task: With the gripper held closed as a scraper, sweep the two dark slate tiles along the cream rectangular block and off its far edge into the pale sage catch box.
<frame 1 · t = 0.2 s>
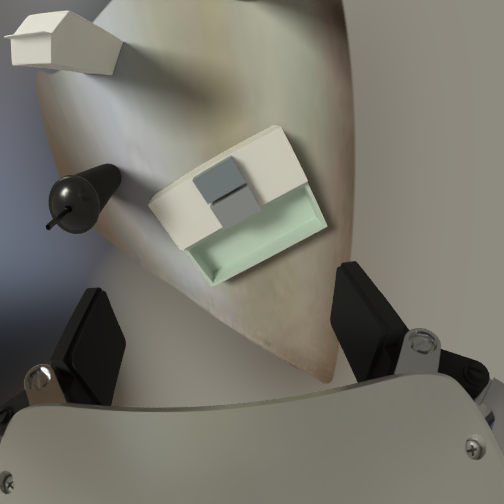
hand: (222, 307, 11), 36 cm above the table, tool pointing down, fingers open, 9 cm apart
catch box: (253, 227, 49), on the table
milk: (102, 57, 32), on the table
cream rectangular block: (226, 182, 45), on the table
drinking cup: (108, 177, 42), on the table
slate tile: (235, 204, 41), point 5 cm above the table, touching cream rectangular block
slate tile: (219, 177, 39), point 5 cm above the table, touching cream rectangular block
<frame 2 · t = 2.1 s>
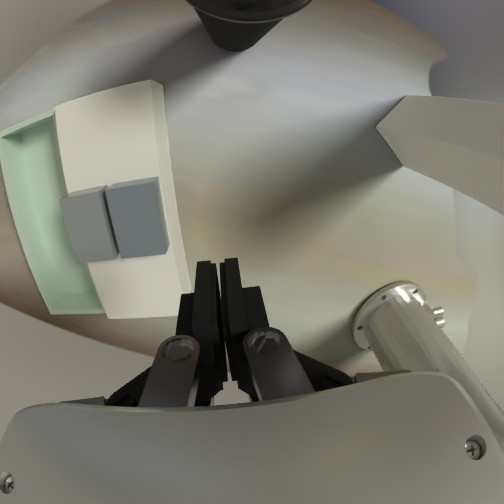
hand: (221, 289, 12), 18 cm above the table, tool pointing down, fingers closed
catch box: (61, 212, 26), on the table
milk: (404, 130, 26), on the table
cream rectangular block: (132, 200, 27), on the table
drinking cup: (235, 30, 21), on the table
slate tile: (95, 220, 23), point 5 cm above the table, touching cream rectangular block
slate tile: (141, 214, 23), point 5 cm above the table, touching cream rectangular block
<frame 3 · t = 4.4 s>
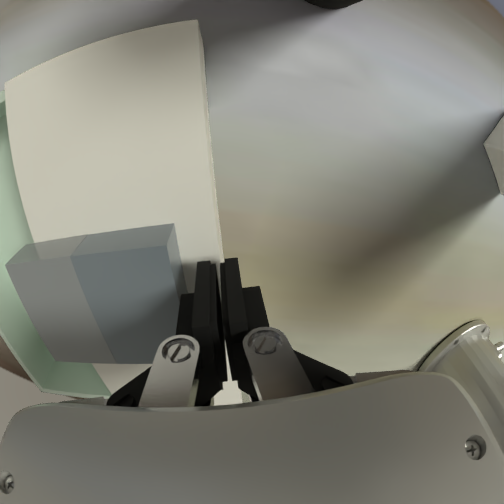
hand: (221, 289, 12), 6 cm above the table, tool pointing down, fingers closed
catch box: (37, 257, 16), on the table
cream rectangular block: (148, 242, 17), on the table
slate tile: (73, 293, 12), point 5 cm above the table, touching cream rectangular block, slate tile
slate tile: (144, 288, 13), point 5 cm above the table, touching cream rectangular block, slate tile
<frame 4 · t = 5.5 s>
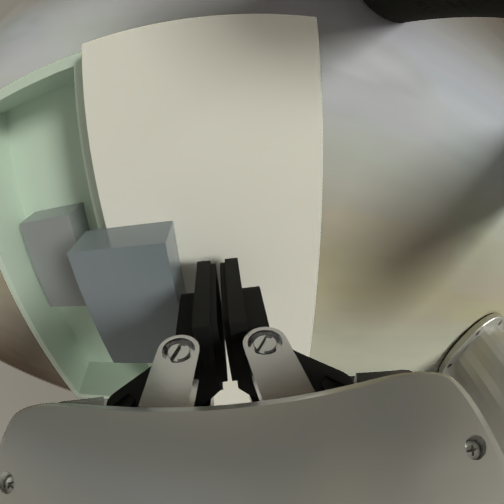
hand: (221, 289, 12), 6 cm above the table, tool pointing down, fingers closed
catch box: (82, 249, 16), on the table
cream rectangular block: (218, 233, 17), on the table
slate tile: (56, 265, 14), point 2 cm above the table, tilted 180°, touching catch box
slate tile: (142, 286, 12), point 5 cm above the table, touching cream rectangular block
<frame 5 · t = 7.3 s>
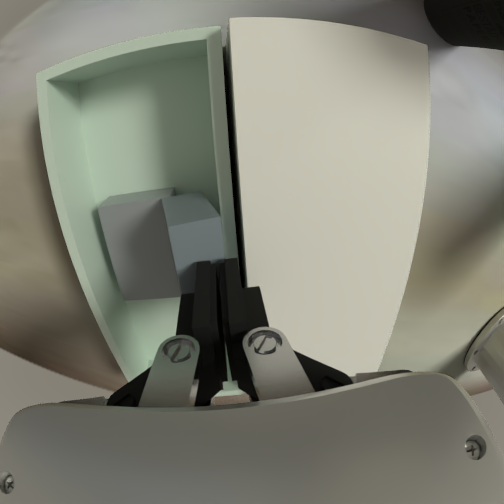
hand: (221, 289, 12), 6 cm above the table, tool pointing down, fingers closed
catch box: (163, 238, 17), on the table
cream rectangular block: (310, 223, 18), on the table
drinking cup: (445, 18, 11), on the table
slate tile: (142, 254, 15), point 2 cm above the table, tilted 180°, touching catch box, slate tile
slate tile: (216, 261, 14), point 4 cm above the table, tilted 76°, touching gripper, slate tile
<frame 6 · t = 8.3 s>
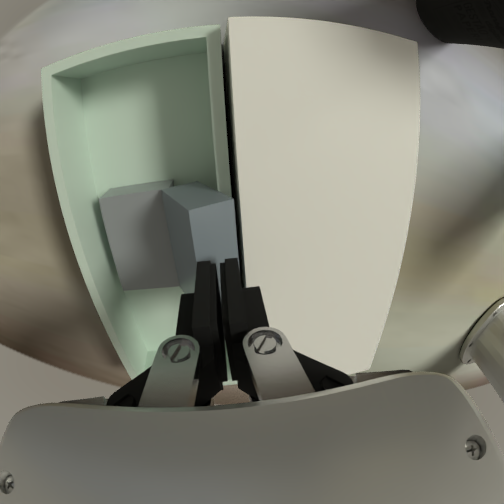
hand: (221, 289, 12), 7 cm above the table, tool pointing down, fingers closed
catch box: (162, 229, 18), on the table
cream rectangular block: (305, 214, 18), on the table
drinking cup: (437, 16, 12), on the table
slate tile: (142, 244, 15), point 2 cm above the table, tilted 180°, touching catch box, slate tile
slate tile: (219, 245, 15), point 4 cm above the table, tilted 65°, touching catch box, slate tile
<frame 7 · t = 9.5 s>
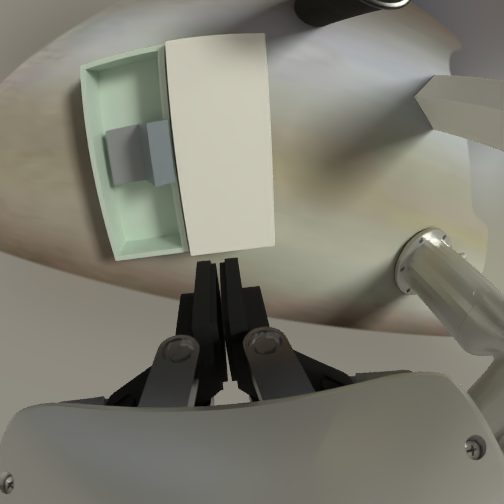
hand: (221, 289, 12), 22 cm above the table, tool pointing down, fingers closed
catch box: (139, 152, 29), on the table
milk: (433, 101, 30), on the table
cream rectangular block: (221, 140, 29), on the table
drinking cup: (313, 10, 23), on the table
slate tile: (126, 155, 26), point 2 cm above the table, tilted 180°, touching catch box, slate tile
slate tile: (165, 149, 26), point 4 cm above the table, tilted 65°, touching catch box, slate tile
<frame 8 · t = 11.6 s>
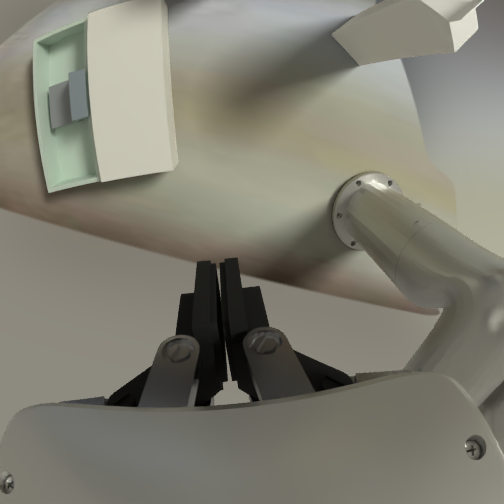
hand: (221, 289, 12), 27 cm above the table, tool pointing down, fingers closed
catch box: (74, 103, 29), on the table
milk: (357, 39, 29), on the table
cream rectangular block: (136, 86, 29), on the table
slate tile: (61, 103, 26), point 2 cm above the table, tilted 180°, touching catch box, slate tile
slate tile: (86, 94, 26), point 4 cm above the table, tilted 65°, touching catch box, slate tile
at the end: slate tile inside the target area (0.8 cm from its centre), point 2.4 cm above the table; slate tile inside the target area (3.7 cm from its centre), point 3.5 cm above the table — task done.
